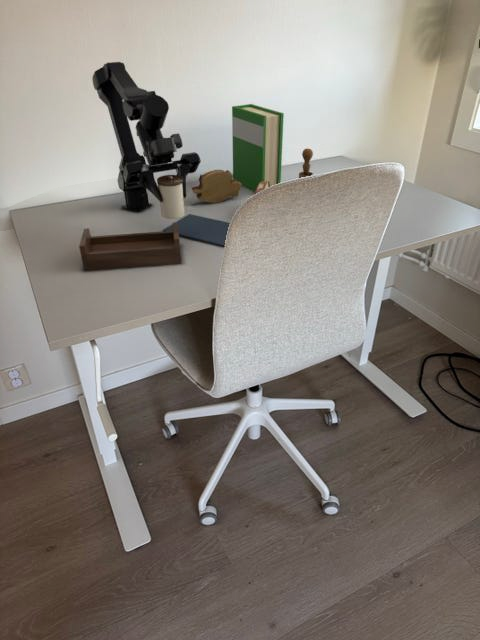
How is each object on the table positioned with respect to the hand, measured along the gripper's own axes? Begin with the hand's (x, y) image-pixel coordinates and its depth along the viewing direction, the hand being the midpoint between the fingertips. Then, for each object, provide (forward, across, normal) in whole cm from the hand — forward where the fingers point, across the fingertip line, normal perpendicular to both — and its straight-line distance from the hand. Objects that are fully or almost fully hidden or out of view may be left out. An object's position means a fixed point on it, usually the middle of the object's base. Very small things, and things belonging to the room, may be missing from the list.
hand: (173, 199), depth 114 cm
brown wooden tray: (+9, -12, +9) cm, 17 cm away
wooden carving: (-8, +23, +26) cm, 36 cm away
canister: (+2, 0, +4) cm, 5 cm away
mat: (+5, +11, +13) cm, 18 cm away
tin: (+3, +31, +15) cm, 35 cm away
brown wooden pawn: (+6, +43, +12) cm, 45 cm away
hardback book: (-12, +42, +31) cm, 53 cm away
